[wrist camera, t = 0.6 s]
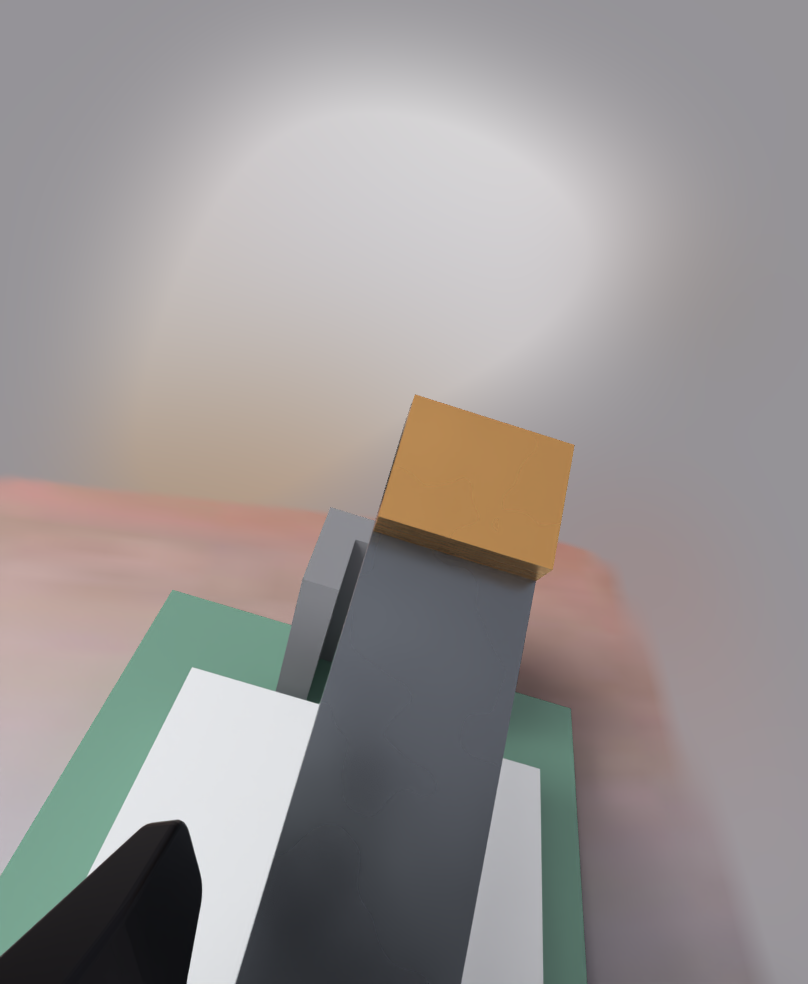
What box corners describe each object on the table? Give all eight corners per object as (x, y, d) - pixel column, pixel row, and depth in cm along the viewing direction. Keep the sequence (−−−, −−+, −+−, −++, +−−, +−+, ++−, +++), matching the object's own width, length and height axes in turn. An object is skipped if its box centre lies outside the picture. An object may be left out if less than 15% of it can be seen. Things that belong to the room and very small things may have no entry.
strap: (267, 1842, 7) (256, 2254, 5) (-10, 1781, 7) (-130, 2188, 5) (538, 474, 13) (577, 430, 11) (402, 431, 13) (419, 380, 11)
